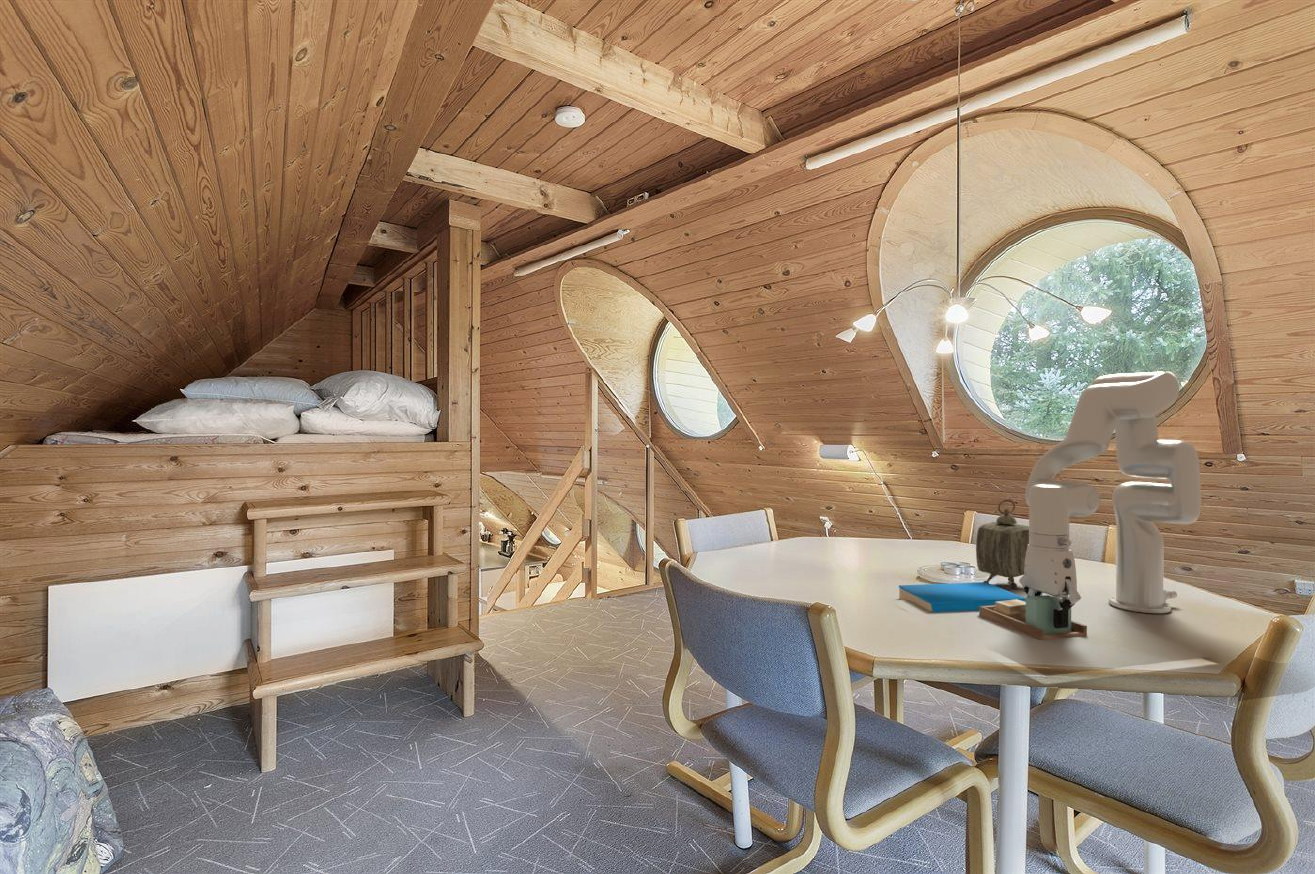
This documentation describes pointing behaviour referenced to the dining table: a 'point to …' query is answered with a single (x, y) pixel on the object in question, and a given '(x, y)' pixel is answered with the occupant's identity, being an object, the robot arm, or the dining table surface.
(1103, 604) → the dining table surface
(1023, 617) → the offcut low
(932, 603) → the book
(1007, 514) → the tabletop clock
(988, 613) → the tray
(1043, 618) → the block
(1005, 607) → the offcut top
